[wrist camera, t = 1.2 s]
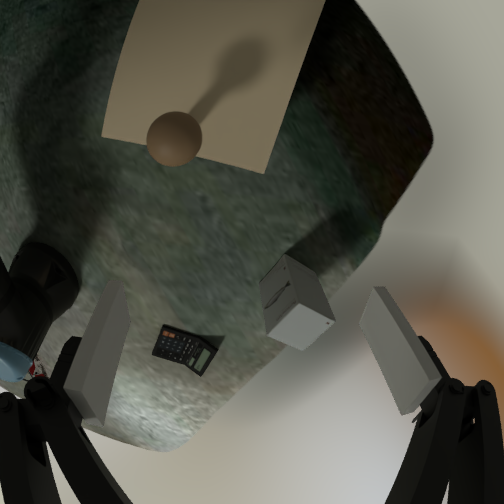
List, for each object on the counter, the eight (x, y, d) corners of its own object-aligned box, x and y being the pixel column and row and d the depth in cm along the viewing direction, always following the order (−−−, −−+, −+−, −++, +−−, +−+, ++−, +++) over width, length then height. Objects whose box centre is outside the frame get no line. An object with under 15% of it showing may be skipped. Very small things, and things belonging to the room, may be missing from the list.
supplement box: (284, 251, 49) (300, 301, 38) (316, 272, 51) (338, 322, 40) (256, 282, 51) (265, 336, 40) (289, 300, 54) (303, 352, 43)
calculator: (163, 324, 55) (160, 335, 52) (218, 341, 58) (218, 352, 56) (152, 351, 59) (150, 362, 56) (203, 366, 62) (202, 377, 60)
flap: (105, 135, 26) (56, 158, 17) (161, -42, 17) (137, -86, 8) (262, 171, 29) (278, 208, 21) (324, -3, 20) (366, -36, 12)
